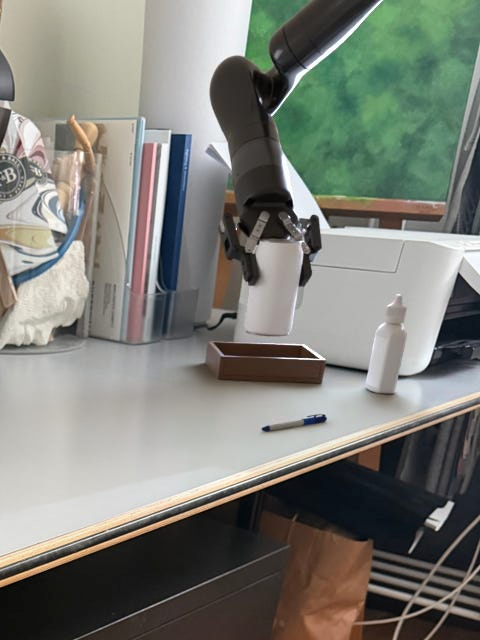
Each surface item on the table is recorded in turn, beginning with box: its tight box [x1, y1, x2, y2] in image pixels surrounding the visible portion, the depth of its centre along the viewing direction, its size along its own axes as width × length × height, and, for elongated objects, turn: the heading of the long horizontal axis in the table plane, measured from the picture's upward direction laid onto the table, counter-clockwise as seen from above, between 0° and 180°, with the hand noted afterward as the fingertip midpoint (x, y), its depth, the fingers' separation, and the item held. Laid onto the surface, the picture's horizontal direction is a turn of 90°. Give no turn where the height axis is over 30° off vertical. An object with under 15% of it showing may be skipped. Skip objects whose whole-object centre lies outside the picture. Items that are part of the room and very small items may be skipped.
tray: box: [204, 340, 327, 384], centre depth 133 cm, size 14×12×3 cm
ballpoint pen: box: [261, 413, 328, 432], centre depth 106 cm, size 10×1×1 cm, turn 125°
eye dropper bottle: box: [365, 293, 408, 394], centre depth 122 cm, size 4×6×12 cm
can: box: [243, 238, 303, 337], centre depth 128 cm, size 6×6×12 cm
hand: (279, 282), depth 126 cm, fingers closed on can, 6 cm apart
